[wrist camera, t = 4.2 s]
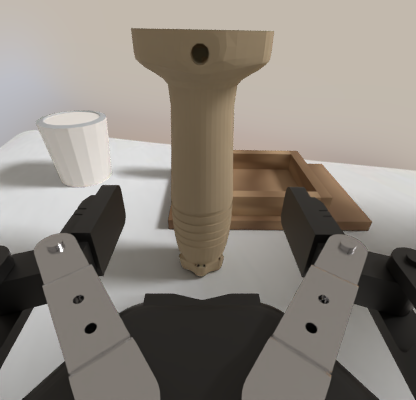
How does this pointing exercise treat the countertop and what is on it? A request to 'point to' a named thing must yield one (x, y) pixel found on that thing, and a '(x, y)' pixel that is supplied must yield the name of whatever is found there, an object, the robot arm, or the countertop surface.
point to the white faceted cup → (78, 146)
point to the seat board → (276, 187)
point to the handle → (202, 127)
